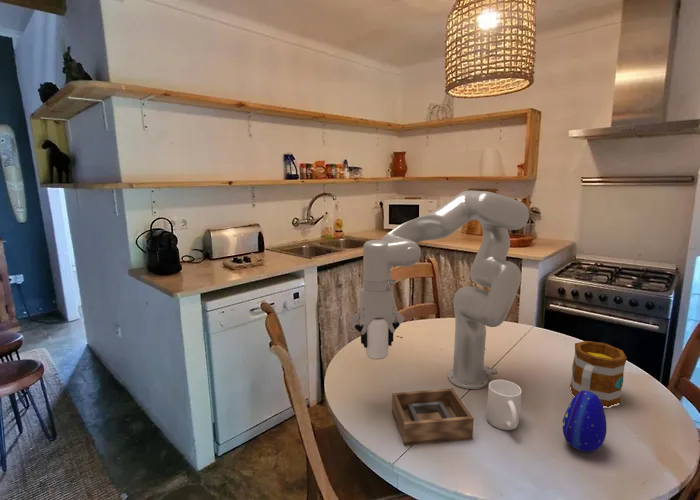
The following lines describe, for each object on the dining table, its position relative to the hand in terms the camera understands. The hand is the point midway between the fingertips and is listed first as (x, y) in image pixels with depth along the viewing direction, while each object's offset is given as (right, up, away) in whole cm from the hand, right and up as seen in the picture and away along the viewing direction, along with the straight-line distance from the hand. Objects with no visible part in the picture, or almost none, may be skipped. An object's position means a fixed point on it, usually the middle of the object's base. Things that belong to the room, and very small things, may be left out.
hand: (377, 344), depth 110 cm
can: (0, -3, +1) cm, 3 cm away
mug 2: (+65, -18, +6) cm, 68 cm away
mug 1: (+34, -21, -6) cm, 41 cm away
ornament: (+50, -22, -14) cm, 57 cm away
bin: (+14, -21, -5) cm, 26 cm away
